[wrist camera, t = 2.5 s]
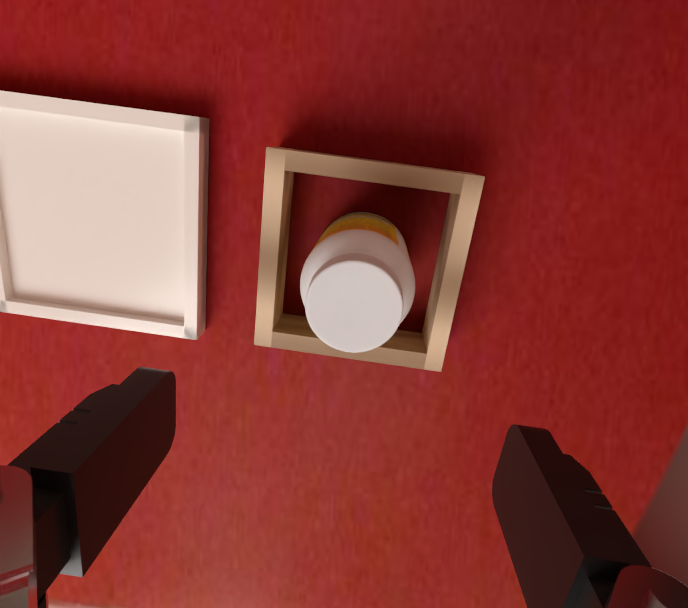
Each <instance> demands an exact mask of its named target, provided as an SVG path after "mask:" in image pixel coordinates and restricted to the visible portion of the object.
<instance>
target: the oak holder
mask: <svg viewBox="0 0 688 608" xmlns="http://www.w3.org/2000/svg"><path fill="white" fill-rule="evenodd" d="M294 172H300V173H307V174H314V175H322V176H329V177H337V178H344V179H351V180H359V181H366V182H373V183H381V184H388V185H396V186H403V187H410V188H418V189H425V190H432V191H440V192H447V193H450V197H449V202H448V207H447V212H446V217H445V222H444V227H443V232H442V237H441V242H440V247H439V251H438V256H437V261H436V266H435V271H434V276H433V281H432V286H431V291H430V296H429V301H428V306H427V311H426V315H425V320H424V325H423V330H422V333H418V332H411V331H404V330H396V332H395V333H394V334H393V336H392V337H391V338H390V339H389V340H388V341H386V342H385V343H384V344H382V345H381V346H379V347H377V348H375V349H372V350H369V351H365V352H358V353H351V352H344V351H341V350H337V349H335V348H332V347H330V346H329V345H327V344H326V343H324V342H323V341H322V340H320V339H319V338H318V337H317V336H316V334H315V333H314V332H313V330H312V329H311V327H310V325H309V323H308V320H307V317H305V316H298V315H291V314H284V313H283V301H284V289H285V277H286V265H287V253H288V241H289V229H290V217H291V205H292V193H293V182H294ZM484 179H485V176H481V175H478V174H474V173H468V172H461V171H453V170H446V169H438V168H431V167H423V166H416V165H409V164H401V163H394V162H386V161H379V160H371V159H364V158H356V157H349V156H342V155H334V154H327V153H319V152H312V151H304V150H297V149H290V148H282V147H266V161H265V177H264V193H263V209H262V226H261V242H260V258H259V274H258V291H257V307H256V323H255V339H254V345H259V346H266V347H273V348H280V349H287V350H294V351H301V352H308V353H315V354H322V355H328V356H335V357H342V358H349V359H356V360H363V361H370V362H377V363H384V364H391V365H398V366H405V367H412V368H419V369H425V370H432V371H439V372H441V369H442V365H443V360H444V356H445V351H446V347H447V343H448V338H449V334H450V329H451V325H452V321H453V316H454V312H455V307H456V303H457V298H458V294H459V290H460V285H461V281H462V276H463V272H464V268H465V263H466V259H467V254H468V250H469V246H470V241H471V237H472V232H473V228H474V224H475V219H476V215H477V210H478V206H479V201H480V197H481V193H482V188H483V184H484Z"/></svg>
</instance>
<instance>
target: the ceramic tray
mask: <svg viewBox="0 0 688 608" xmlns="http://www.w3.org/2000/svg"><path fill="white" fill-rule="evenodd" d="M208 166H209V119H208V118H202V117H195V116H188V115H180V114H173V113H165V112H158V111H151V110H143V109H136V108H128V107H121V106H113V105H106V104H98V103H91V102H83V101H76V100H68V99H61V98H53V97H46V96H38V95H31V94H23V93H16V92H8V91H1V90H0V312H7V313H13V314H20V315H27V316H34V317H41V318H48V319H55V320H62V321H69V322H76V323H83V324H90V325H96V326H103V327H110V328H117V329H124V330H131V331H138V332H145V333H152V334H159V335H166V336H173V337H180V338H186V339H193V340H197V339H198V338H199V337H200V336H201V335H202V334H203V333H204V331H205V320H206V269H207V217H208Z"/></svg>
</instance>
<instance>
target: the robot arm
mask: <svg viewBox="0 0 688 608" xmlns="http://www.w3.org/2000/svg"><path fill="white" fill-rule="evenodd" d="M175 428H176V379H175V375H174V373H173V372H171V371H165V370H159V369H152V368H145V367H139V368H137V369H136V370H135V371H134V372H133V373H132V374H131V375H130V376H128V377H127V378H126V379H125V380H124V381H123V382H122V383H121V384H120V385H115V384H112V385H109V386H107V387H105V388H103V389H101V390H99V391H96V392H94V393H92V394H90V395H89V396H88V397H86V398H85V399H84V400H83V401H82V402H81V403H79V404H78V405H77V406H76V407H75V408H74V410H73V411H70V412H69V413H68V414H67V415H65V416H64V417H63V418H62V419H61V420H60V423H56V424H55V425H54V426H53V427H51V428H50V429H49V430H48V431H47V432H46V433H44V434H43V435H42V436H41V437H40V438H39V439H37V440H36V441H35V442H34V443H33V444H32V445H30V446H29V447H28V448H27V449H26V450H25V451H23V452H22V453H21V454H20V455H19V456H18V457H16V458H15V459H14V460H13V461H12V462H11V463H9V464H8V465H7V466H0V608H48V595H47V589H48V588H49V586H50V585H51V584H52V582H53V581H54V580H55V578H56V577H57V576H58V574H59V573H60V574H66V575H72V576H79V577H83V576H84V575H85V573H86V572H87V570H88V569H89V567H90V566H91V564H92V563H93V562H94V560H95V559H96V557H97V556H98V554H99V553H100V551H101V550H102V548H103V547H104V546H105V544H106V543H107V541H108V540H109V538H110V537H111V535H112V534H113V532H114V531H115V530H116V528H117V527H118V525H119V524H120V522H121V521H122V519H123V518H124V516H125V515H126V513H127V512H128V511H129V509H130V508H131V506H132V505H133V503H134V502H135V500H136V499H137V497H138V496H139V495H140V493H141V492H142V490H143V489H144V487H145V486H146V484H147V483H148V481H149V480H150V479H151V477H152V476H153V474H154V473H155V471H156V470H157V468H158V467H159V465H160V464H161V463H162V461H163V460H164V458H165V457H166V455H167V454H168V452H169V450H170V448H171V445H172V442H173V439H174V435H175ZM492 496H493V503H494V507H495V510H496V513H497V516H498V519H499V523H500V526H501V529H502V532H503V535H504V538H505V541H506V544H507V547H508V550H509V553H510V556H511V559H512V562H513V565H514V568H515V571H516V574H517V577H518V580H519V583H520V586H521V589H522V593H523V596H524V599H525V602H526V605H527V608H688V587H687V586H686V585H684V584H683V583H682V582H680V581H678V580H677V579H675V578H674V577H672V576H670V575H668V574H666V573H664V572H662V571H659V570H657V569H654V568H652V566H651V565H650V563H649V562H648V560H647V559H646V558H645V556H644V554H643V553H642V551H641V550H640V548H639V547H638V545H637V544H636V542H635V541H634V539H633V538H632V536H631V535H630V533H629V532H628V530H627V528H626V527H625V525H624V524H623V522H622V521H621V519H620V518H619V516H618V515H617V513H616V512H615V511H613V510H612V506H611V504H610V503H609V501H608V500H607V498H606V497H605V495H603V494H602V490H601V489H600V487H599V486H598V484H597V483H596V481H595V480H594V478H593V477H592V475H591V474H590V472H589V471H588V470H586V469H585V468H584V467H583V466H582V465H581V464H580V463H578V462H577V461H576V460H575V459H574V458H573V457H572V456H570V455H567V454H563V453H562V451H561V450H560V448H559V447H558V445H557V443H556V442H555V440H554V438H553V437H552V435H551V433H550V432H549V431H548V430H546V429H542V428H535V427H528V426H522V425H515V424H513V425H512V426H511V427H510V428H509V430H508V432H507V436H506V439H505V442H504V445H503V449H502V452H501V455H500V459H499V462H498V465H497V468H496V472H495V475H494V479H493V486H492Z"/></svg>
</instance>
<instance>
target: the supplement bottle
mask: <svg viewBox="0 0 688 608" xmlns="http://www.w3.org/2000/svg"><path fill="white" fill-rule="evenodd" d="M300 291H301V297H302V301H303V304H304V307H305V313H306V317H307V320H308V323H309V325H310V327H311V329H312V330H313V332H314V333H315V334H316V336H317V337H318V338H319V339H320V340H322V341H323V342H324V343H326V344H327V345H329V346H330V347H332V348H335V349H337V350H341V351H344V352H351V353H358V352H365V351H369V350H372V349H375V348H377V347H379V346H381V345H382V344H384V343H385V342H386V341H388V340H389V339H390V338H391V337H392V336H393V334H394V333H395V332H396V330H397V328H398V326H399V324H400V323H401V322H402V321H403V320H404V319H405V317H406V316H407V314H408V312H409V310H410V308H411V306H412V303H413V300H414V295H415V277H414V272H413V268H412V264H411V261H410V258H409V254H408V250H407V246H406V243H405V241H404V239H403V237H402V235H401V233H400V232H399V230H398V229H397V228H396V227H395V226H394V225H393V224H392V223H391V222H390V221H388V220H387V219H385V218H383V217H381V216H379V215H376V214H372V213H366V212H356V213H351V214H347V215H345V216H342V217H340V218H338V219H337V220H335V221H334V222H333V223H332V224H331V225H330V226H329V227H328V228H327V229H326V230H325V232H324V233H323V234H322V236H321V237H320V239H319V240H318V242H317V244H316V245H315V247H314V248H313V250H312V251H311V253H310V254H309V256H308V258H307V259H306V261H305V264H304V266H303V269H302V273H301V278H300Z"/></svg>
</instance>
